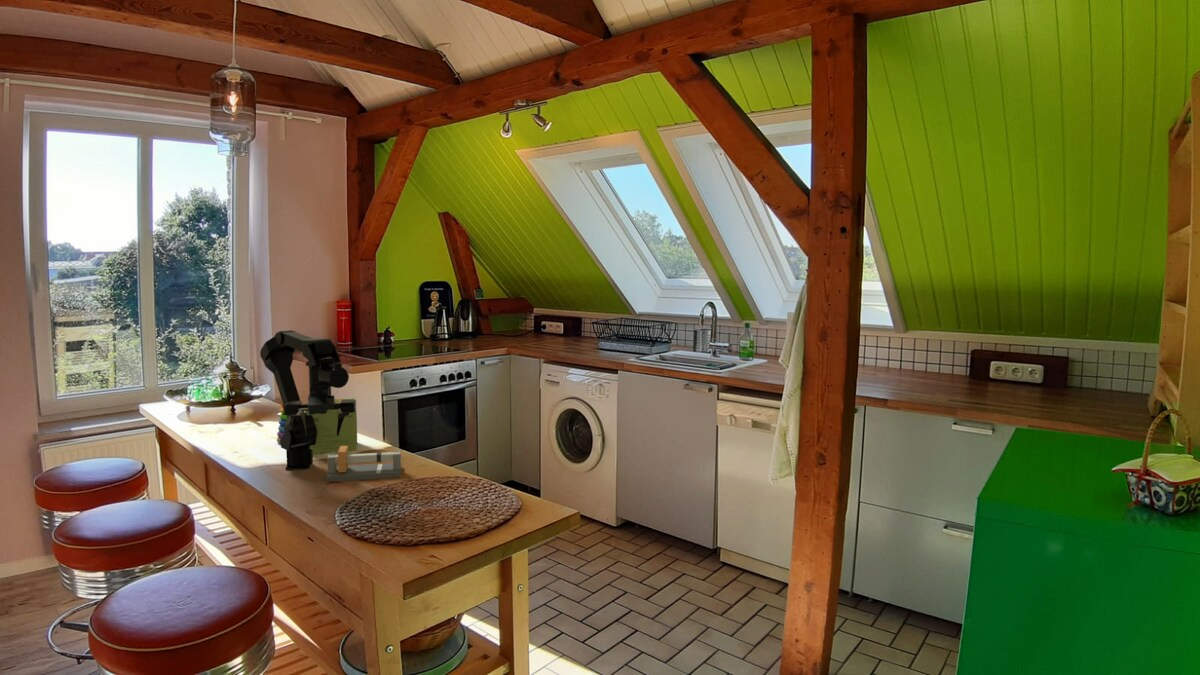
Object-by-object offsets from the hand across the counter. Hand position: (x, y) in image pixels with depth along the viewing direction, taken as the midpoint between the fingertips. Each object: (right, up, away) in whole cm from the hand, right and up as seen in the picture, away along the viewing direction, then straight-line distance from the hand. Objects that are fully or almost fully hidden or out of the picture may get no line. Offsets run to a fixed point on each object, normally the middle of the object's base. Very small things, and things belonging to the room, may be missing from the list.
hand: (321, 436), depth 194 cm
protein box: (-8, -8, +29) cm, 31 cm away
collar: (+5, -10, +2) cm, 11 cm away
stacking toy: (-25, -7, +35) cm, 44 cm away
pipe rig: (+11, -12, +4) cm, 17 cm away
